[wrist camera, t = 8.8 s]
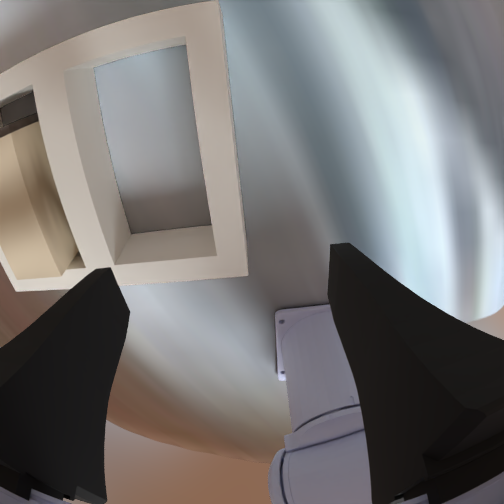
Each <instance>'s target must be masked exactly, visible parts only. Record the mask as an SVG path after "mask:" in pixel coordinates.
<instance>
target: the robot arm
mask: <svg viewBox="0 0 504 504" xmlns="http://www.w3.org/2000/svg"><path fill="white" fill-rule="evenodd" d="M328 299H329V303H330V304H328V305H319V306H311V307H302V308H292V309H283V310H278V311H277V312H276V313H275V328H276V349H277V371H278V379H279V380H281V381H285V380H286V385H287V393H288V400H289V408H290V417H291V425H292V433H291V434H288V435H285V436H284V441H285V448H284V449H281V450H279V451H278V452H277V453H276V455H275V456H274V459H273V461H272V463H271V465H270V468H269V473H268V488H269V494H270V498H271V502H272V504H504V340H502V339H499V338H497V337H494V336H492V335H489V334H487V333H485V332H483V331H481V330H478V329H476V328H473V327H472V326H470V325H468V324H466V323H464V322H462V321H460V320H458V319H456V318H454V317H453V316H451V315H449V314H447V313H445V312H444V311H442V310H440V309H439V308H437V307H435V306H434V305H432V304H431V303H429V302H427V301H426V300H424V299H423V298H421V297H420V296H418V295H417V294H415V293H414V292H412V291H411V290H410V289H408V288H407V287H405V286H404V285H403V284H401V283H400V282H398V281H397V280H396V279H394V278H393V277H392V276H391V275H389V274H388V273H387V272H385V271H384V270H383V269H382V268H380V267H379V266H378V265H377V264H375V263H374V262H373V261H372V260H370V259H369V258H368V257H367V256H365V255H364V254H363V253H362V252H360V251H359V250H358V249H357V248H355V247H354V246H353V245H351V244H350V243H340V244H331V245H330V262H329V280H328ZM129 316H130V310H129V308H128V306H127V304H126V302H125V299H124V297H123V295H122V293H121V290H120V288H119V286H118V283H117V281H116V279H115V276H114V274H113V271H112V269H111V267H107V268H98V269H95V270H93V271H92V272H91V273H89V274H88V275H87V276H85V277H84V278H83V279H82V280H81V281H79V282H78V283H77V284H76V285H75V286H74V287H73V288H71V289H70V290H69V291H68V292H67V293H66V294H65V295H64V296H63V297H61V298H60V299H59V300H58V301H57V302H56V303H55V304H54V305H53V306H52V307H50V308H49V309H48V310H47V311H46V312H45V313H44V314H43V315H41V316H40V317H39V318H38V319H37V320H36V321H35V322H34V323H32V324H31V325H30V326H29V327H28V328H26V329H25V330H24V331H23V332H21V333H20V334H19V335H18V336H16V337H15V338H14V339H12V340H11V341H10V342H8V343H7V344H6V345H4V346H3V347H1V348H0V504H71V503H68V502H65V501H63V498H66V499H69V500H72V501H73V500H74V499H77V500H80V501H84V502H87V503H91V504H104V503H106V502H107V495H106V486H105V474H104V440H105V424H106V416H107V408H108V400H109V396H110V391H111V387H112V384H113V380H114V376H115V373H116V369H117V366H118V363H119V359H120V356H121V352H122V349H123V346H124V342H125V339H126V334H127V328H128V322H129ZM280 320H282V321H280Z"/></svg>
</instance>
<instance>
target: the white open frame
mask: <svg viewBox="0 0 504 504" xmlns="http://www.w3.org/2000/svg"><path fill="white" fill-rule="evenodd" d="M181 45H186V47H187V56H188V64H189V72H190V80H191V88H192V96H193V104H194V111H195V118H196V126H197V133H198V140H199V146H200V153H201V160H202V167H203V173H204V179H205V186H206V192H207V198H208V204H209V211H210V217H211V223H212V225H207V226H198V227H188V228H179V229H170V230H162V231H153V232H144V233H136V234H131V232H130V228H129V225H128V222H127V218H126V215H125V211H124V208H123V204H122V201H121V197H120V193H119V190H118V186H117V182H116V178H115V174H114V170H113V166H112V162H111V158H110V153H109V149H108V144H107V140H106V135H105V130H104V125H103V120H102V115H101V110H100V104H99V99H98V93H97V87H96V80H95V74H94V67H98V66H101V65H104V64H107V63H110V62H114V61H117V60H120V59H124V58H128V57H131V56H135V55H139V54H143V53H147V52H152V51H156V50H161V49H165V48H170V47H175V46H181ZM33 91H34V97H35V103H36V108H37V113H38V118H39V123H40V127H41V132H42V136H43V140H44V144H45V148H46V152H47V156H48V160H49V164H50V167H51V171H52V174H53V178H54V181H55V184H56V187H57V191H58V194H59V197H60V200H61V203H62V206H63V209H64V212H65V215H66V218H67V220H68V223H69V226H70V229H71V231H72V234H73V237H74V239H75V242H76V244H77V247H78V249H79V251H78V253H77V254H76V256H75V257H74V258H73V260H72V261H71V263H70V264H69V266H68V267H67V269H66V270H65V272H64V273H63V275H62V276H61V277H49V278H36V279H22V280H17V279H16V277H15V275H14V273H13V271H12V269H11V267H10V265H9V263H8V261H7V259H6V257H5V255H4V253H3V251H2V248H1V246H0V262H1V264H2V266H3V268H4V270H5V272H6V274H7V276H8V277H9V279H10V281H11V283H12V285H13V287H14V289H15V290H16V291H38V290H58V289H71V288H73V287H74V286H75V285H76V284H77V283H78V282H79V281H81V280H82V279H83V278H84V277H85V276H87V275H88V274H89V273H91V272H92V271H93V270H95V269H98V268H107V267H111V269H112V271H113V274H114V276H115V279H116V281H117V283H118V286H126V285H140V284H154V283H168V282H181V281H194V280H206V279H218V278H230V277H242V276H248V255H247V238H246V229H245V220H244V211H243V202H242V193H241V184H240V175H239V166H238V156H237V147H236V138H235V129H234V119H233V110H232V101H231V91H230V82H229V72H228V63H227V53H226V44H225V34H224V24H223V15H222V11H221V8H220V5H219V2H218V0H214V1H207V2H200V3H194V4H188V5H182V6H177V7H172V8H167V9H163V10H158V11H154V12H150V13H146V14H142V15H138V16H135V17H131V18H128V19H124V20H121V21H118V22H114V23H111V24H108V25H105V26H102V27H99V28H97V29H94V30H91V31H88V32H86V33H83V34H80V35H78V36H75V37H73V38H71V39H68V40H66V41H63V42H61V43H59V44H57V45H54V46H52V47H50V48H48V49H46V50H44V51H42V52H39V53H37V54H35V55H33V56H31V57H30V58H28V59H26V60H24V61H22V62H20V63H18V64H16V65H15V66H13V67H11V68H9V69H8V70H6V71H4V72H3V73H1V74H0V108H1V107H3V106H5V105H7V104H9V103H11V102H13V101H15V100H17V99H19V98H21V97H23V96H25V95H27V94H29V93H31V92H33ZM2 127H3V123H2V118H1V113H0V128H2Z"/></svg>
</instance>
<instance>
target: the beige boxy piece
mask: <svg viewBox="0 0 504 504" xmlns="http://www.w3.org/2000/svg"><path fill="white" fill-rule="evenodd" d="M0 246H1V248H2V251H3V253H4V255H5V257H6V259H7V261H8V263H9V265H10V267H11V269H12V271H13V273H14V275H15V277H16V279H17V280H22V279H36V278H49V277H61V276H62V275H63V273H64V272H65V270H66V269H67V267H68V266H69V264H70V263H71V261H72V260H73V258H74V257H75V256H76V254H77V253H78V251H79V249H78V247H77V244H76V242H75V239H74V237H73V234H72V231H71V229H70V226H69V223H68V220H67V218H66V215H65V212H64V209H63V206H62V203H61V200H60V197H59V194H58V191H57V187H56V184H55V181H54V178H53V174H52V171H51V167H50V164H49V160H48V156H47V152H46V148H45V144H44V140H43V136H42V132H41V127H40V123H39V118H38V113H36V114H33V115H31V116H28V117H25V118H23V119H20V120H18V121H15V122H13V123H10V124H8V125H6V126H4V127H2V128H0Z"/></svg>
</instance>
